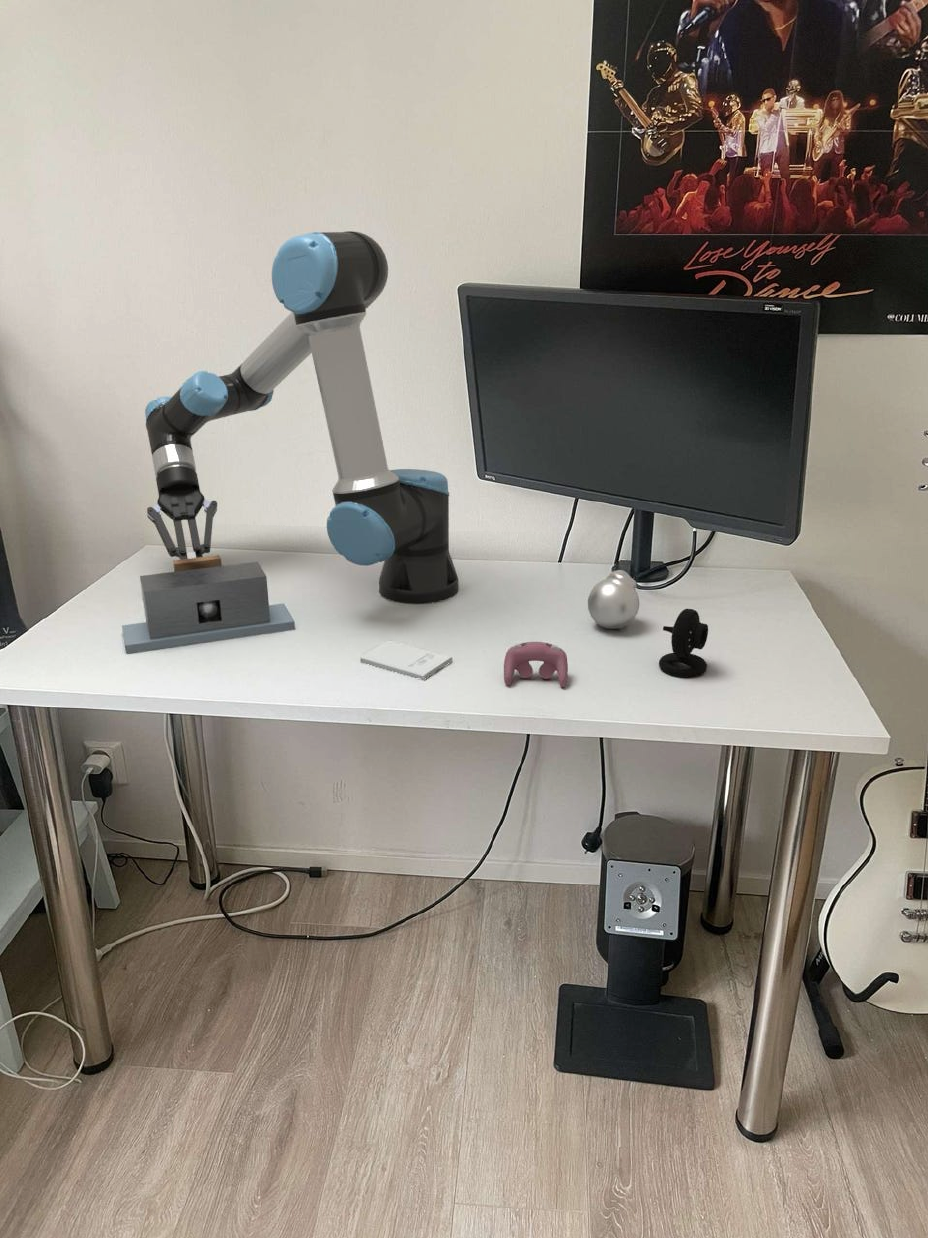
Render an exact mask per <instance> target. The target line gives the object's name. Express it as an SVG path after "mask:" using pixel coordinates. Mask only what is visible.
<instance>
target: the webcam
mask: <svg viewBox="0 0 928 1238" xmlns="http://www.w3.org/2000/svg"><path fill="white" fill-rule="evenodd" d="M674 621H675V622H674V624H673V626H665V625H663V627H662V631H665V632H667V633H670V634H671V641H670V642H671V650H672V652H669V653H666V654H665V655H663V656H661V657H660V659H659V661H658V666H659V668H660V670H662V672H664V673H666V674H667V675H669V676H671V677H675V678H683V677H684V679H686V678H687V679H689V678H696V677H700V676H702V675H703V674H705V673H706V672H707V670H708V669H707V668H708V664H707V662H706V661H705V659H704V658H703V657H702V656H699V655H697V654H694V653H692V652H693V650H694V649H697V650H702V649H703V648H705V645H706V642H707V640H708V634H709V626H708V624H707V623H703V622H701V621H700V615H699V612H698V611H697V610H695V609H693V608H685V609H684V608H683V610H682V611H681V612H680V613H679V614H678V615H677V618H676V620H674ZM670 663H678V664H683V665H685V666H688V668H683V667H682V668H681V667H677V666H674V665H671V664H670Z"/></svg>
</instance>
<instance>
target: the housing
mask: <svg viewBox="0 0 928 1238" xmlns="http://www.w3.org/2000/svg"><path fill="white" fill-rule="evenodd" d="M267 579H268V578H267V575H266V573H265V572H264V570H263V568H262V567H261V564H260V563H259V561H251V562H243V563H234V564H228V565H227V564H226V565H222V566H217V567H209V568H201V569H193V570H185V571H177V572H174V571H171V572H169V571H168V572H160V573H154V574H146V575H145V574H144V575H139V580H140V587H141V596H142V602H143V603H142V604H143V610H144V616H145V622H139V623H131V624H122V625H121V628H122V635H123V640H124V647H125V652H126V655H127V654H135V653H140V652H142V653H143V652H148V651H154V650H162V649H169V648H176V647H177V648H178V647H183V646H188V645H189V646H190V645H198V644H204V643H210V642H217V641H223V640H224V641H225V640H229V639H232V640H233V639H237V638H238V639H239V638H243V637H244V638H245V637H252V636H257V635H264V634H265V633H266V634H273V633H278V632H279V631H280V632H285V631H292V630H296V622H295V620H294V617H293V616H292V615H291V613H290V611H289V610H288V608H287V606H286V604H285V603H284V602H283V603H276V604H270V603H269V591H268V580H267ZM214 600H215V603H216V605H217V609H218V610H217V613H216V614H215V615H214V616H213V617H211V618H206V617H203V616H202V615H201V614H200V612H199V609H198V607H197V603H199V602H206V601H214Z"/></svg>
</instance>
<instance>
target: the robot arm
mask: <svg viewBox="0 0 928 1238" xmlns="http://www.w3.org/2000/svg"><path fill="white" fill-rule="evenodd" d="M388 276H389V265H388V259H387V257H386V253H385V252H384V250H383V249H382V247H381V246H380V244H379V243H378V242H377V241H376V240H375V239H374V238H372V237H371V236H370V235H369V236H368V234H365V233H363V232H358V231H351V230H350V231H335V232H334V231H331V232H330V231H328V232H326V231H325V232H324V231H322V232H321V231H320V232H316V231H315V232H308V233H306V234H300V235H295V236H292V237H291V238H289V239H288V240H286V241H285V242H283V244H282V245H281V246H280V248H279V249H278V251H277V254H276V255H275V256H274V259H273V263H272V267H271V283H272V289H273V291H274V295H275V297H276V299H277V300H278V302H279V303H280V304H283V307H284V308H285V309H286V310H288V311H290V313H289V314H288V315H287V317H285V318H284V319H283V320H282V321H281V322H280V324H278V325H277V326H276V328H274V330H273V331H272V332H271V333H269V335H268V336H267V337H266V338H265V339H264V340H263V341H262V342H261V343H260V344H259V345H258V346H257V347H256V348H255V349H254V350H253V351H252V353H251V354H249V356H247V357H246V358H245V359H244V360H243V362H242V363H241V364H240V365H239V366H238V367H237V368H236V369H234V371H232V372H231V373H228V374H224V375H220V376H218V375H217V374H215V373H212V372H209V371H206V370H201V371H200V370H199V371H198V372H195V373H194V374H193V375H192V376H190V377H189V378H188V379H186V380H185V382H183V383H182V385H181V387H179V389H178V390H177V391H176V392H175V393H174V394H173V395H172V396H159V397H157V398H156V399H153V400H150V401H149V402H148V403H147V404H146V407H145V409H144V416H145V428H146V431H147V437H148V442H149V447H150V452H151V453H150V454H151V458H152V464H153V470H154V474H155V481H156V488H157V493H158V494H157V495H158V498H157V504H155V505H154V506H153V507H152V506H149V507H147V508H146V515H147V518H148V519H149V521H151V522H152V523H153V524H154V526H155V528H156V530H157V532H158V535H159V536H160V538H161V540H162V542H163V545H164V547H165V549H166V551H167V553H168V555H169V557H170V558H175V557H177V558H179V560H182V559H191V558H199V557H203V555H205V554H208V553H210V552H211V545H212V544H211V543H212V535H213V532H212V531H213V523H214V522H213V521H214V517H215V515H216V513H217V511H218V501H217V500H212V501H210V500H208V499H205V496H204V495H203V493H202V492H201V488H200V484H199V478H198V477H199V476H198V473H197V466H196V461H195V457H194V452H193V446H192V439H191V438H192V437H193V436H194V435H195V434H197V432H198V431H200V429H201V428H203V426H205V424H207V423H208V422H212V421H214V420H218V419H222V418H226V417H229V416H233V415H237V414H243V413H246V412H253V411H256V410H258V409H260V408H262V407H265V406H267V405H268V404H270V403H271V401H272V398H273V395H274V391H275V389H276V388H277V387H278V386H279V385H280V384H281V383H282V382H283V381H284V380H285V379H286V378H287V377H288V376H289V375H290V374H291V373H292V372H293V371H294V370H295V369H297V368H298V366H300V365H301V364H302V363H303V362H304V361H305V360H306V359H307V358H308V357H310V355H311V356H312V359H313V364H314V370H315V374H316V379H317V384H318V388H319V393H320V398H321V402H322V406H323V411H324V416H325V420H326V425H327V429H328V430H327V431H328V433H329V440H330V443H331V448H332V449H331V450H332V453H333V458H334V463H335V466H336V467H335V468H336V473H337V477H338V478H337V482H336V483H335V484H334V486H333V488H332V490H331V491H332V496H333V501H334V504H335V505H334V507H333V508H331V511H330V512H329V515H328V517H327V519H326V532H327V536H328V539H329V540H330V544H331V545H332V546H333V548H334V550H335V551H336V552H337V553H338V554H339V555H340V556H343V557H344V558H345V560H346V561H348V562H350V563H352V564H355V565H359V566H372V565H375V564H377V563H380V562H383V565H382V567H381V568H382V569H381V572H380V574H379V578H378V592H379V595H381V596H382V597H383V598H385V599H386V600H389V601H392V602H394V603H400V604H409V605H410V604H411V605H426V604H432V603H433V604H435V603H438V602H439V603H440V602H443V601H447V600H449V599H450V598H453V597H454V596H455V595H457V594H458V591H459V576H458V574H457V571H456V567H455V565H454V562H453V560H452V555H451V553H450V547H449V546H450V542H449V541H450V533H449V531H450V530H449V528H450V522H449V519H450V518H449V517H450V515H449V512H450V509H449V508H450V507H449V504H450V502H449V499H450V492H449V483H448V482H449V481H448V479H447V477H446V476H445V475H444V474H442V473H441V472H437V471H434V470H433V471H432V470H427V469H426V470H425V469H416V468H415V469H413V468H398V469H391V470H390V469H389V467H388V462H387V458H386V457H387V456H386V453H385V452H386V451H385V446H384V441H383V438H382V437H383V436H382V433H381V427H380V422H379V421H380V420H379V418H378V412H377V407H376V401H375V396H374V392H373V386H372V381H371V377H370V371H369V367H368V362H367V358H366V352H365V347H364V342H363V339H362V333H361V324H362V321H363V320H364V319H365V317H366V316H367V310H366V309H368V308H369V307H370V306H372V304H373V303H375V301H376V300H377V298H379V297H380V295H381V294H382V293H383V290H384V289H385V287H386V285H387V281H388ZM202 507H203V508H204V509H203V510H204V513H206V514H205V524H204V525H205V527H204V538H203V543H202V544H201V542H200V540H201V539H200V537H199V536H200V535H199V531H198V525H197V519H196V517H197V516H198V514H199V513H200V511H201V509H202ZM162 513H163V514H165V515H166V516H167V517H168V518H170V519H171V520H172V521H173V527H174V533H175V537H176V538H175V539H176V543H177V547H176V545H175V543H174V541H173V538H172V536H171V534H170V533H169V531H168V528H167V526H166V524H165V522H164V520H163V518H162ZM184 520H185V521H187V525H188V528H189V534H190V539H191V545H192V546H191V547H192V551H189V552H188V551H187V546H186V539H185V533H184V530H183V523H182V521H184Z"/></svg>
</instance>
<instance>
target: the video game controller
mask: <svg viewBox="0 0 928 1238" xmlns="http://www.w3.org/2000/svg"><path fill="white" fill-rule="evenodd" d="M567 656H568V655H567V653H566V652H565V651H564V650H563V648H561V647H559V646H557V645H556V644H552V643H549V642H543V641H527V642H522V643H516V644H514V645H513V646H511V647H509V649H508V650H507V651H506V653H505V657H504V660H503V661H504V662H503V680H504V684H505V686H508V687H509V686H511V684H512V682H513V679H514V675H515V672H517V673H518V675H519V676H520V677H521V678H523V679H528V678H530V677H531V676H533V674H534V670H533V667H532V665H531V664H530V662H534V661H535V662H543V663H542V664H541V665H540V666H539V669H538V675H539V676H540V678H541V679H544V680H549V679H551V678H552V676H553V675H554V673H555V672H556V673H557V678H558V683H559V686H560V688H562V687H564V688H565V687H566V685H567V681H568V671H569V668H568V666H569V664H568V657H567Z"/></svg>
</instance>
